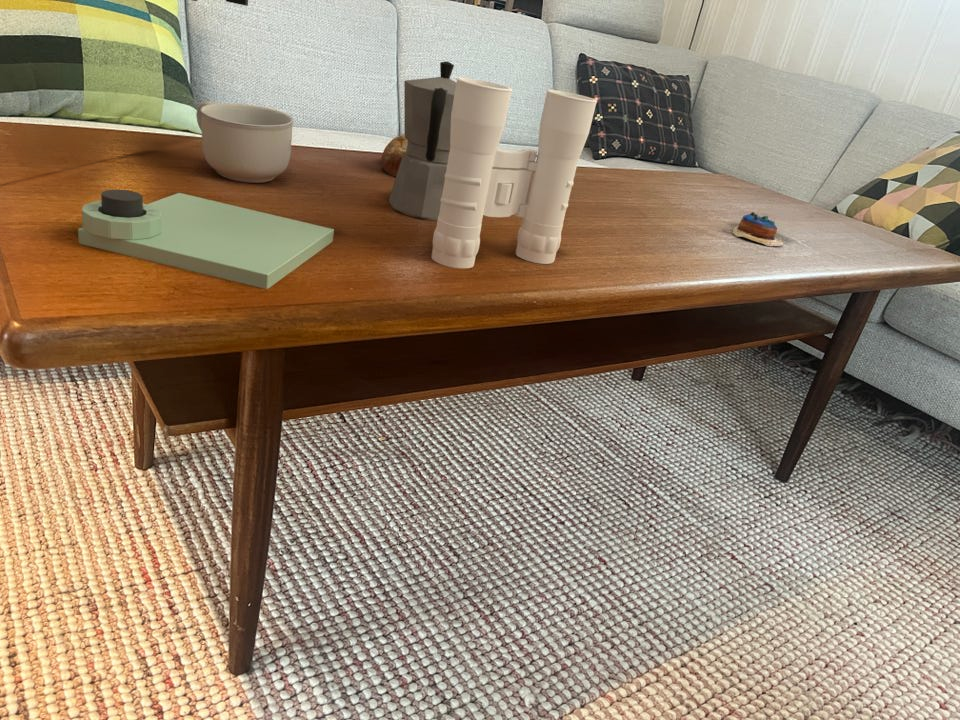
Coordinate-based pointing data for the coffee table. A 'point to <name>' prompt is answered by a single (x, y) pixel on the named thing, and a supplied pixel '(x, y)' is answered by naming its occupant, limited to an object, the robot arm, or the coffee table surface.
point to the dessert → (758, 230)
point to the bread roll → (394, 154)
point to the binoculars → (508, 173)
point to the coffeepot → (425, 145)
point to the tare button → (122, 203)
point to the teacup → (245, 140)
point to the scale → (207, 238)
